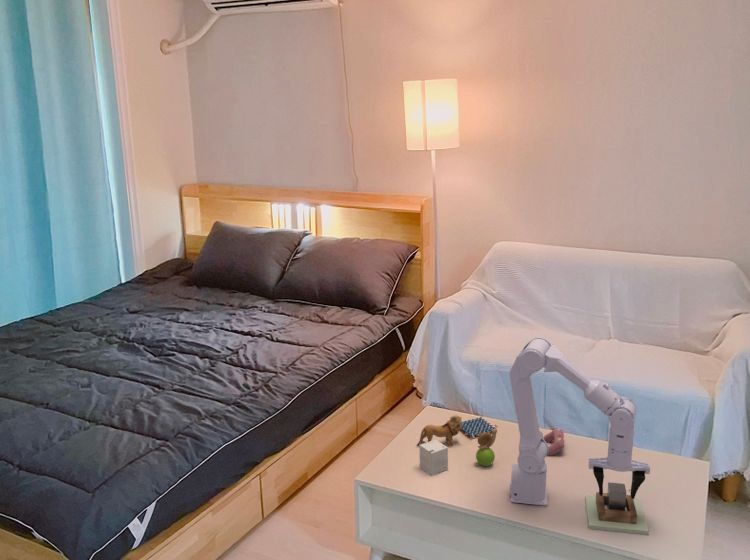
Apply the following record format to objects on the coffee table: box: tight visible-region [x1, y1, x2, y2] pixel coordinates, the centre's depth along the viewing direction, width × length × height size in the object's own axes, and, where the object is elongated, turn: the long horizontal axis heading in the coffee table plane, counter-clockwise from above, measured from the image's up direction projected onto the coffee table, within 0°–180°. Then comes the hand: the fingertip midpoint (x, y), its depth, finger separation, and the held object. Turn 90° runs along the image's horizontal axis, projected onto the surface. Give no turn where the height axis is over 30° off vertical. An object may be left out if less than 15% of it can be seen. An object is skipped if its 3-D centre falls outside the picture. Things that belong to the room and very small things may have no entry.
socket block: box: [584, 491, 649, 536], centre depth 180 cm, size 14×14×4 cm
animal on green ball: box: [475, 424, 498, 467], centre depth 205 cm, size 5×6×12 cm
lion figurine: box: [416, 414, 463, 448], centre depth 218 cm, size 15×5×9 cm, turn 103°
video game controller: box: [543, 428, 566, 456], centre depth 214 cm, size 10×5×7 cm, turn 169°
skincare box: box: [419, 439, 449, 476], centre depth 204 cm, size 6×6×7 cm
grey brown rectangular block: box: [606, 482, 627, 511], centre depth 180 cm, size 4×4×7 cm
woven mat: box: [459, 416, 495, 441], centre depth 228 cm, size 10×11×2 cm
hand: (616, 495), depth 179 cm, fingers open, 7 cm apart
